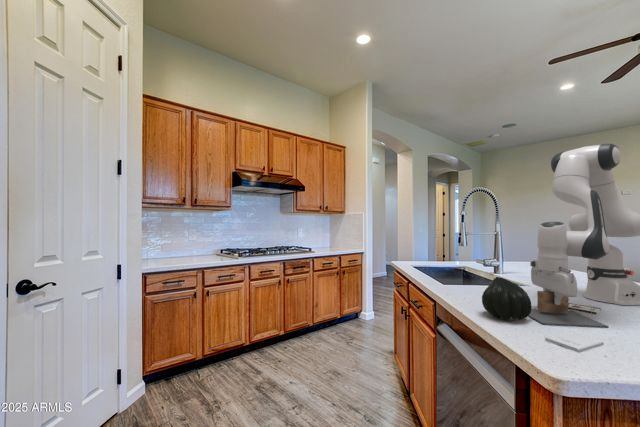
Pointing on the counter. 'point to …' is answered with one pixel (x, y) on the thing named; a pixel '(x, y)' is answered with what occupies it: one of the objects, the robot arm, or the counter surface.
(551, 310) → the box
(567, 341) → the external hard drive
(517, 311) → the squash
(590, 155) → the robot arm
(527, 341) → the counter surface
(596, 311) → the chocolate bar
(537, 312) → the mat
